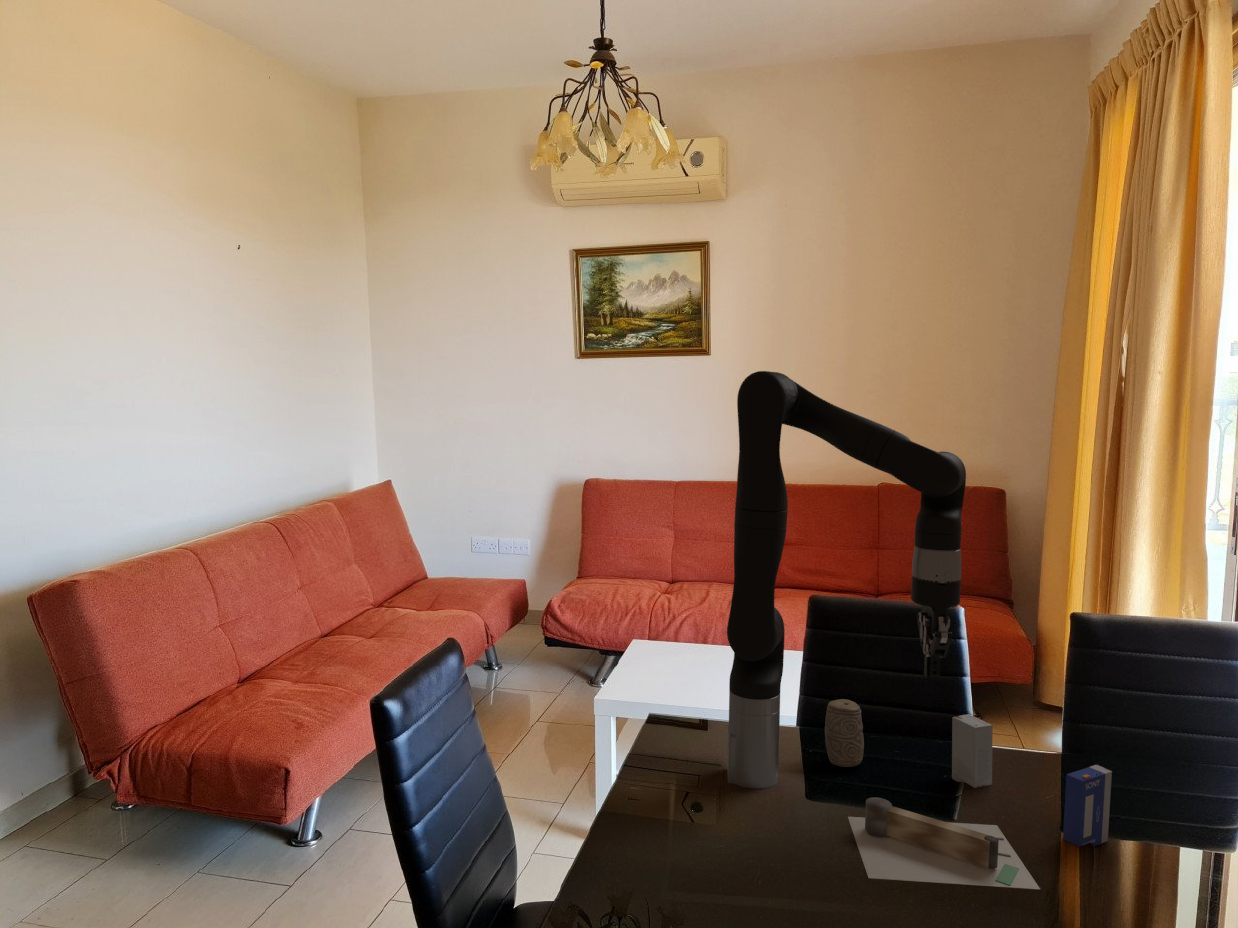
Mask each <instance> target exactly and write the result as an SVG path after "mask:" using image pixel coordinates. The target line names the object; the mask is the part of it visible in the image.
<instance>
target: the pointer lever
mask: <svg viewBox="0 0 1238 928" xmlns="http://www.w3.org/2000/svg"><path fill="white" fill-rule="evenodd" d="M864 813H865V815H864V818H865V830H866V831H867V832H868V833H869V834H871V835H874V836H879V837H885V836H891V837H894V838H897V839H900V840H904V841H907V842H910V843H913V844H916V845H919V846H922V847H925V848H928V849H932V850H935V851H938V852H941V853H944V854H947V855H950V856H953V857H956V858H960V859H963V860H966V861H969V862H972V863H975V864H978V865H981V866H984V867H988V868H992V869H995V868H997V865H998V844H999V840H998V839H997V838H996V837H993V836H990V835H987V834H984V833H980V832H977V831H974V830H970V829H967V828H964V827H960V826H957V825H953V824H950V823H951V822H949V823H947V822H948V821H947V822H946V821H943V820H940V819H937V818H936V819H935V818H933V817H930V816H926V815H923V814H919V813H916V812H913V811H910V810H906V809H903V808H899V807H896V806H893V803H891V802H890V801H889V800H887V799H885V798H882V797H869V798H867V799H866V800H865V811H864Z"/></svg>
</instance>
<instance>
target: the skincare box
mask: <svg viewBox="0 0 1238 928" xmlns="http://www.w3.org/2000/svg"><path fill="white" fill-rule="evenodd" d="M951 719H952V724H951V726H952V727H951V734H952V736H951V737H952V738H951V740H952V741H951V742H952V743H951V745H952V746H951V752H952V753H951V778H952V780H953V781H955V782H957V783H966V784H967V785H969V786H970V787H972V788H974V789H976V788H982V787H988V786H992V784H993V728H994V726H993V725H992V724H990V723H988V722H986V721H984V720H982V719H980V718H978V717H976V716H974V715H971V714H969V713H968V714H962V715H956V716H953V717H951Z"/></svg>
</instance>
